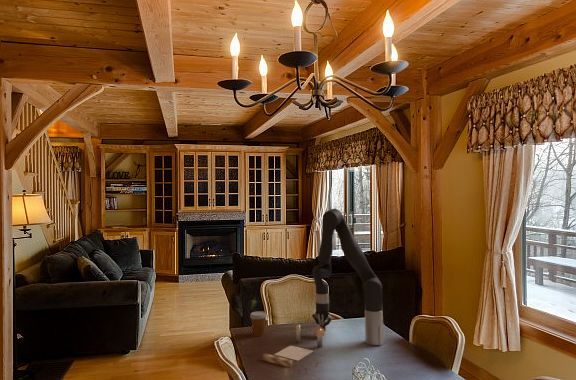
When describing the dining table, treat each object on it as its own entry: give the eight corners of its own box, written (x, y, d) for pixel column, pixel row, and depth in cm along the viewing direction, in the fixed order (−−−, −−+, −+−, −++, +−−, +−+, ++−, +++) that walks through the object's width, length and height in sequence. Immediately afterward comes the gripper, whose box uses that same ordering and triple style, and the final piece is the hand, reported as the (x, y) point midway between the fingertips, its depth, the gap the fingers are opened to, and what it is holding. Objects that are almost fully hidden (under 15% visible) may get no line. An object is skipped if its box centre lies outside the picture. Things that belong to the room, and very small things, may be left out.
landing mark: (313, 351, 204) (313, 350, 204) (298, 360, 192) (298, 360, 192) (290, 345, 212) (290, 345, 212) (274, 354, 200) (274, 354, 200)
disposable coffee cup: (268, 332, 234) (267, 311, 235) (265, 337, 225) (265, 315, 225) (252, 331, 235) (251, 310, 236) (248, 337, 226) (248, 315, 226)
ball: (327, 328, 225) (322, 325, 221) (325, 339, 222) (319, 336, 218) (318, 327, 228) (312, 324, 225) (316, 338, 225) (310, 335, 222)
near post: (323, 346, 210) (322, 328, 210) (320, 347, 208) (320, 330, 208) (318, 345, 212) (318, 327, 212) (316, 346, 210) (315, 329, 210)
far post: (301, 341, 218) (301, 324, 218) (299, 343, 215) (298, 326, 216) (297, 340, 219) (297, 323, 219) (295, 342, 217) (294, 325, 217)
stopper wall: (292, 365, 187) (292, 360, 187) (290, 367, 185) (290, 361, 185) (265, 358, 196) (265, 353, 196) (262, 359, 194) (262, 354, 194)
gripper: (308, 301, 228) (309, 332, 228) (328, 304, 220) (329, 336, 220) (316, 298, 234) (316, 328, 234) (336, 301, 226) (336, 332, 226)
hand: (322, 332), depth 227 cm, fingers closed
